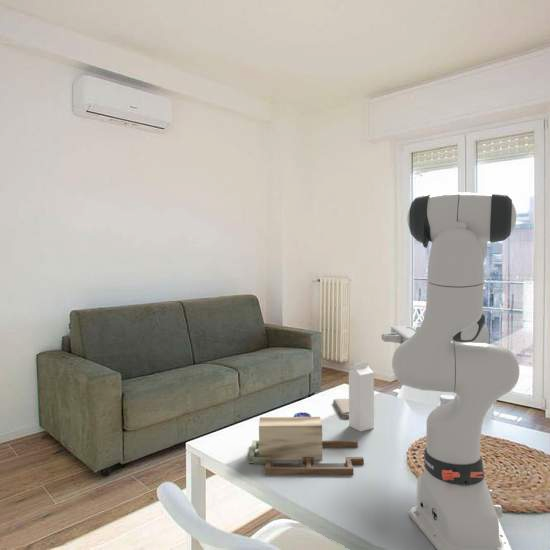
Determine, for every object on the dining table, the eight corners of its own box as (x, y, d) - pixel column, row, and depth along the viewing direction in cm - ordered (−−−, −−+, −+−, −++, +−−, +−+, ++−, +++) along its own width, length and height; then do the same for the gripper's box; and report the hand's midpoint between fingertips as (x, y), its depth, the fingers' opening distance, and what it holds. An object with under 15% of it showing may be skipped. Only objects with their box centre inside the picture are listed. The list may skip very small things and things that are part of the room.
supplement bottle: (460, 441, 141) (461, 400, 140) (438, 440, 142) (438, 399, 141) (456, 433, 147) (456, 394, 147) (435, 431, 148) (435, 393, 148)
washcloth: (342, 420, 161) (342, 412, 161) (331, 404, 179) (331, 396, 178) (375, 419, 162) (375, 410, 162) (361, 402, 180) (361, 395, 180)
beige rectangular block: (322, 460, 130) (322, 425, 129) (259, 460, 130) (258, 426, 129) (320, 449, 137) (319, 416, 136) (260, 449, 137) (259, 417, 136)
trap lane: (367, 474, 120) (367, 469, 120) (247, 474, 121) (246, 468, 121) (357, 445, 139) (357, 440, 139) (252, 445, 140) (252, 440, 140)
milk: (348, 426, 154) (348, 361, 154) (362, 422, 157) (361, 359, 157) (360, 432, 149) (359, 365, 148) (374, 428, 152) (373, 363, 151)
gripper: (419, 320, 144) (375, 321, 145) (441, 333, 124) (390, 333, 124) (419, 340, 145) (375, 341, 145) (441, 355, 124) (390, 356, 125)
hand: (382, 337), depth 134 cm, fingers closed
